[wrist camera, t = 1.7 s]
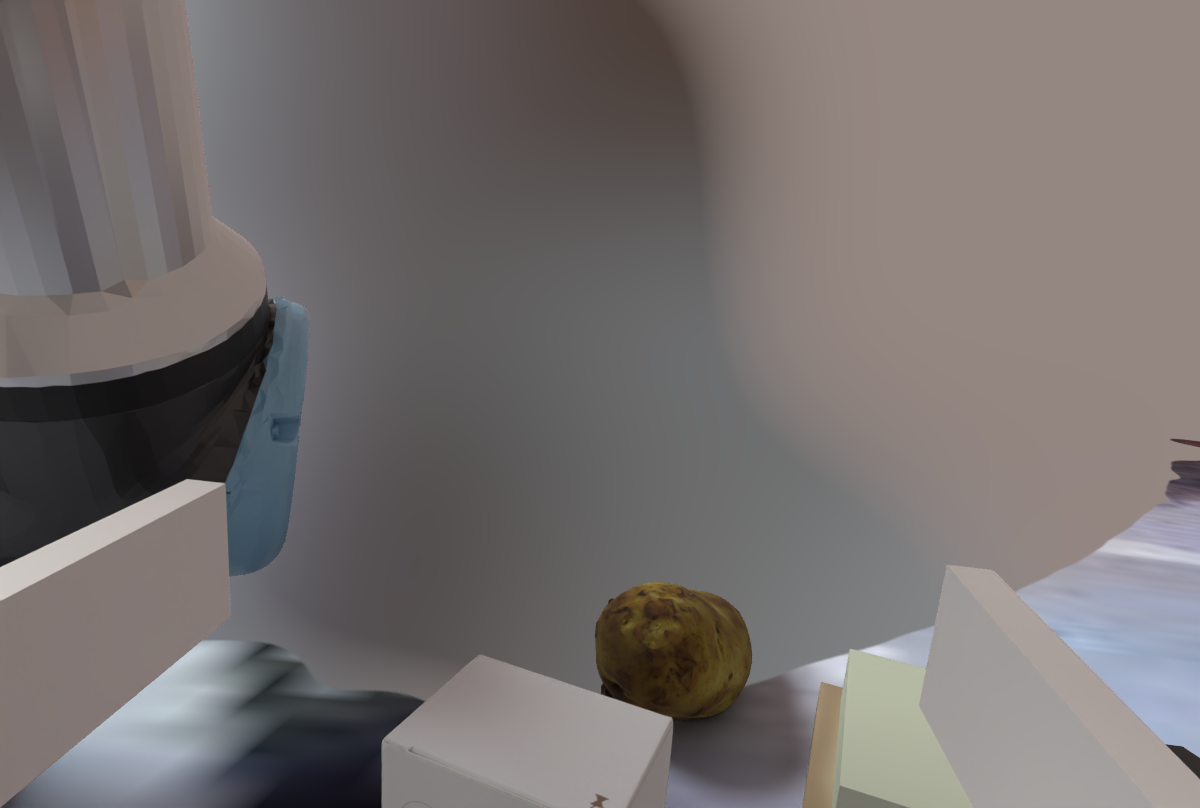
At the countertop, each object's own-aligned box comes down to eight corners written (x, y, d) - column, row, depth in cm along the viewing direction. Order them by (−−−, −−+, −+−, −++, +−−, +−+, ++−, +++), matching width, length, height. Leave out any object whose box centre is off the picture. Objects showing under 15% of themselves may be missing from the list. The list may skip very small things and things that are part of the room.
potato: (804, 704, 42) (824, 581, 40) (642, 795, 34) (658, 646, 33) (703, 638, 49) (716, 528, 47) (545, 701, 41) (554, 573, 39)
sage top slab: (828, 847, 29) (839, 785, 29) (841, 697, 39) (849, 648, 39) (1145, 957, 26) (1167, 889, 25) (1070, 761, 36) (1084, 708, 35)
